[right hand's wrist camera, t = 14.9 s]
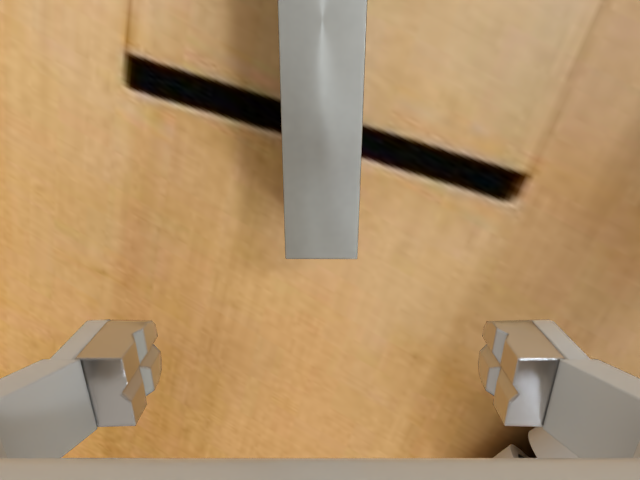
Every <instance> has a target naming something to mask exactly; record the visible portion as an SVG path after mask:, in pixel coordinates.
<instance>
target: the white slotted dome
mask: <svg viewBox="0 0 640 480" xmlns="http://www.w3.org/2000/svg"><path fill="white" fill-rule="evenodd" d="M528 438H529V442H530V445H531V447H532V449H533V451H534V453H535V455H536V457H537V458H579V457H578V456H576V455H575V454H574V453H573V452H571V451H570V450H569V449H568V448H566V447H565V446H564V445H563V444H561V443H560V442H559V441H558V440H556V439H555V438H554V437H553V436H551V435H550V434H549V433H548V432H546V431H545V430H544V429H543V427H535V428H533V429H532V430H530V431H529V433H528ZM493 458H530V457H528V456H527V455H526V454H525V453H524V452H523V451H521V450H520V449H519V448H518V447H516V446H515V445H513V444H510V445H509V446H508V447H506V448H505V449H504V450H502V451H501V452H500V453H498V454H497V455H496V456H494V457H493Z"/></svg>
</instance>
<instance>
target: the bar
mask: <svg viewBox="0 0 640 480" xmlns="http://www.w3.org/2000/svg"><path fill="white" fill-rule="evenodd" d="M366 20H367V0H278V26H279V59H280V92H281V125H282V159H283V192H284V225H285V258H286V259H357V254H358V228H359V202H360V176H361V150H362V124H363V98H364V72H365V46H366Z"/></svg>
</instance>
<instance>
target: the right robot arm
mask: <svg viewBox="0 0 640 480" xmlns="http://www.w3.org/2000/svg"><path fill="white" fill-rule="evenodd" d="M157 337H158V335H157V330H156V325H155V323H154V322H153V321H145V320H89V321H86V322H85V323H84V324H83V325H82V327H81V328H80V329H79V330H78V331H77V332H76V333H75V334H74V335H73V336H72V337H71V338H70V339H69V340H68V341H67V342H66V343H65V344H64V345H63V346H62V347H61V348H60V349H59V350H58V351H57V352H56V353H55V354H54V355H53V356H52V357H51V358H50V359H42V360H40V361H38V362H36V363H34V364H31V365H29V366H27V367H25V368H23V369H20V370H18V371H16V372H14V373H12V374H9V375H7V376H5V377H3V378H1V379H0V480H640V379H639V378H637V377H635V376H633V375H630V374H628V373H626V372H624V371H622V370H620V369H617V368H615V367H613V366H611V365H609V364H606V363H604V362H602V361H600V360H598V359H590V358H589V357H588V356H587V355H586V354H585V353H584V352H583V351H582V350H581V349H580V348H579V347H578V346H577V345H576V344H575V343H574V342H573V341H572V340H571V339H570V338H569V337H568V336H567V335H566V334H565V333H564V332H563V331H562V329H561V328H560V327H559V326H558V325H557V324H556V323H555V322H554V321H551V320H549V319H546V320H519V321H487V322H486V324H485V326H484V329H483V334H482V337H483V338H484V340H485V341H486V343H487V344H486V345H485V346H484V347H483V348H482V349H481V351H480V352H479V360H478V367H479V375H480V379H481V382H482V384H483V386H484V388H485V390H486V391H487V392H489V393H490V394H492V395H493V396H494V400H493V405H494V407H495V409H496V411H497V413H498V414H499V416H500V418H501V420H502V422H503V424H504V426H530V427H543V429H544V430H545V431H546V432H548V433H549V434H550V435H551V436H553V437H554V438H555V439H556V440H558V441H559V442H560V443H561V444H563V445H564V446H565V447H566V448H568V449H569V450H570V451H571V452H573V453H574V454H575V455H576V456H578V457H579V458H61V457H63V456H64V455H65V454H66V453H68V452H69V451H70V450H71V449H73V448H74V447H75V446H76V445H78V444H79V443H80V442H81V441H83V440H84V439H85V438H86V437H88V436H89V435H90V434H91V433H93V432H94V431H95V430H96V429H97V427H110V426H136V424H137V422H138V420H139V418H140V416H141V415H142V413H143V411H144V409H145V407H146V405H147V400H146V396H147V395H148V394H150V393H151V392H153V391H154V390H155V388H156V386H157V384H158V382H159V379H160V374H161V370H162V359H161V352H160V351H159V349H158V348H157V347H156V346H155V345H154V344H153V343H154V341H155V340H156V338H157Z"/></svg>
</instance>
